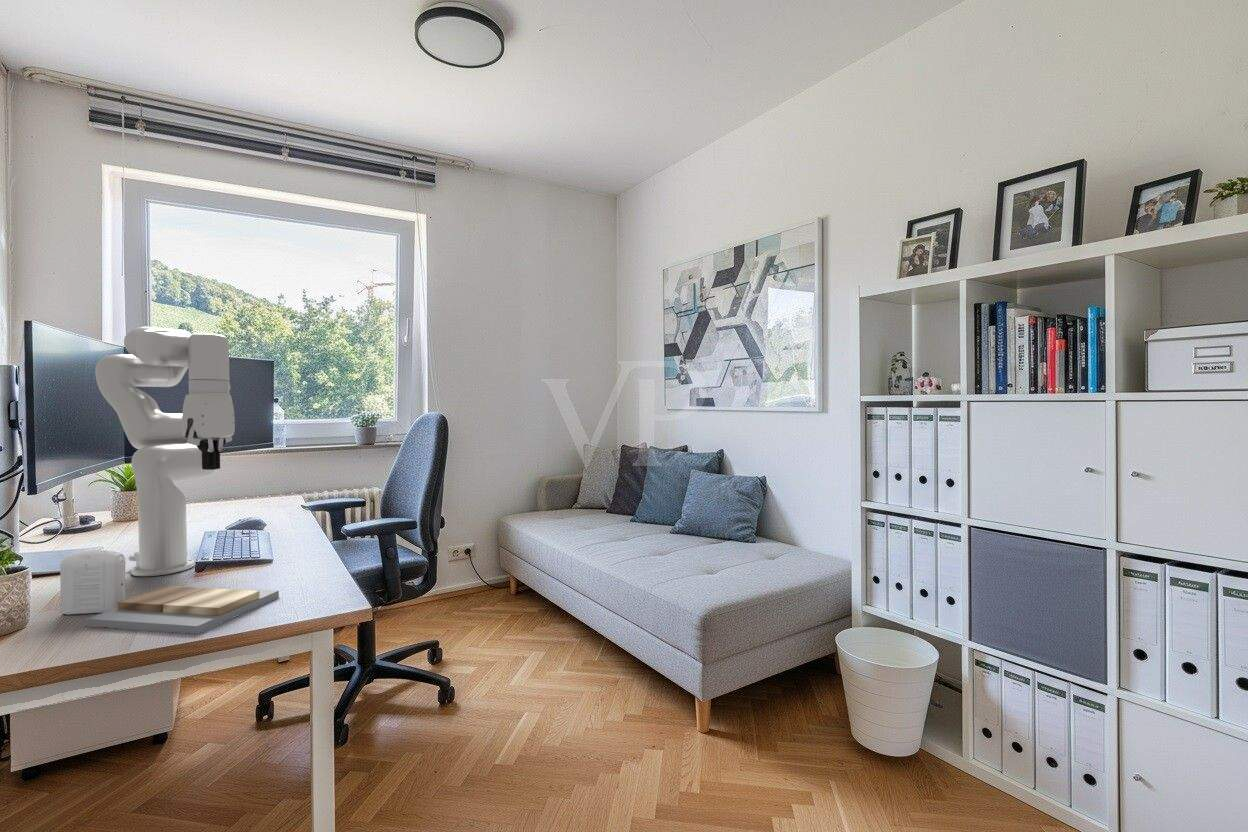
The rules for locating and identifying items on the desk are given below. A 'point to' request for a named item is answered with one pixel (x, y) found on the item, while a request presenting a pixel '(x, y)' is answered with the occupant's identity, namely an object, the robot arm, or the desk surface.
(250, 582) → the desk surface
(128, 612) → the floor board
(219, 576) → the desk surface
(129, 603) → the flat wooden square
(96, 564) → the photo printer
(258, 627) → the desk surface
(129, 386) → the robot arm
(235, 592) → the oak plank
